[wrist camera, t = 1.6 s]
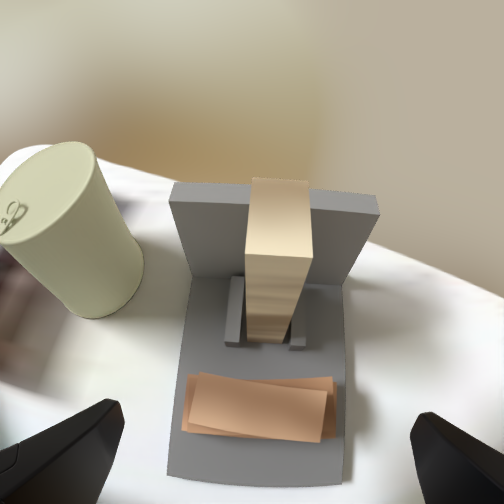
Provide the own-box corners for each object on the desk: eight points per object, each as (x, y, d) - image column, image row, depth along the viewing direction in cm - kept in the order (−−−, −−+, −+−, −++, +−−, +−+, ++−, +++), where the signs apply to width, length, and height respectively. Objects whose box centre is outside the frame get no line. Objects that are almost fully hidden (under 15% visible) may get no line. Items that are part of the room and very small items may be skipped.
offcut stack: (330, 438, 17) (346, 441, 14) (184, 431, 18) (172, 432, 15) (332, 381, 20) (347, 372, 17) (191, 373, 20) (180, 363, 17)
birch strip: (281, 343, 21) (312, 257, 11) (247, 341, 21) (244, 253, 11) (283, 293, 23) (308, 181, 13) (250, 292, 23) (252, 177, 13)
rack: (337, 482, 16) (398, 514, 8) (170, 473, 16) (113, 502, 8) (337, 272, 25) (374, 192, 17) (197, 263, 26) (175, 179, 17)
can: (44, 291, 24) (-31, 216, 14) (94, 220, 28) (46, 130, 18) (109, 337, 22) (22, 263, 12) (163, 250, 27) (122, 144, 16)
